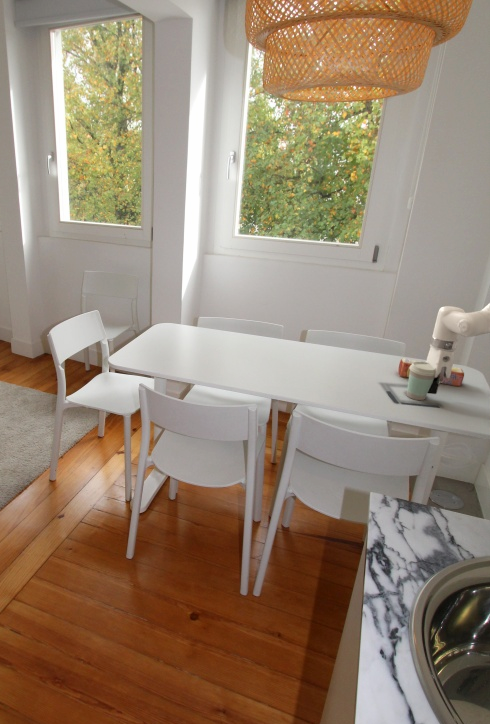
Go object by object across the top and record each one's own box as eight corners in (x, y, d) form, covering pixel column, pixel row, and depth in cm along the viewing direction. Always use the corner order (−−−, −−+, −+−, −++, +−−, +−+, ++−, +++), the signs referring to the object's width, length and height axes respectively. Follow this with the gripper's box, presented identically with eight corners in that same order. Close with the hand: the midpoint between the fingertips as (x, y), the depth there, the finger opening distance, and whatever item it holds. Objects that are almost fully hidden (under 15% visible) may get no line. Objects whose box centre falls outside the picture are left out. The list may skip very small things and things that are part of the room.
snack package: (458, 381, 179) (463, 365, 176) (461, 389, 173) (466, 372, 170) (396, 371, 186) (401, 355, 183) (397, 378, 181) (402, 362, 178)
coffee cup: (428, 394, 168) (437, 363, 163) (430, 404, 161) (440, 372, 155) (401, 388, 171) (410, 358, 166) (402, 398, 164) (411, 367, 159)
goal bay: (439, 407, 158) (439, 407, 157) (394, 404, 160) (394, 403, 160) (421, 388, 173) (422, 387, 173) (381, 385, 175) (381, 384, 175)
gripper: (465, 351, 151) (450, 402, 157) (446, 337, 164) (433, 385, 171) (440, 349, 152) (426, 400, 159) (423, 335, 165) (411, 383, 172)
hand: (430, 392), depth 165 cm, fingers closed
